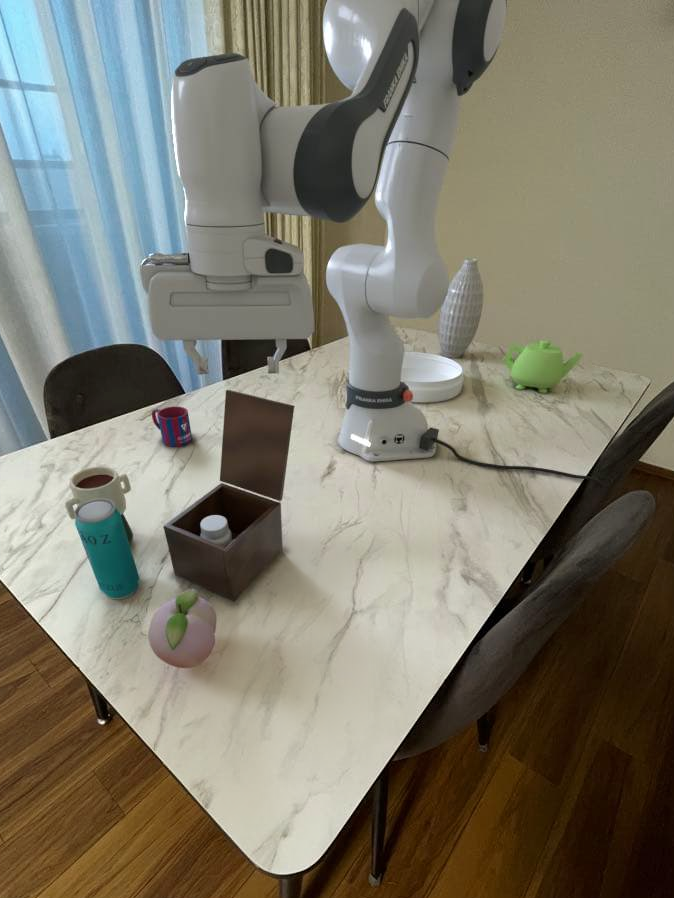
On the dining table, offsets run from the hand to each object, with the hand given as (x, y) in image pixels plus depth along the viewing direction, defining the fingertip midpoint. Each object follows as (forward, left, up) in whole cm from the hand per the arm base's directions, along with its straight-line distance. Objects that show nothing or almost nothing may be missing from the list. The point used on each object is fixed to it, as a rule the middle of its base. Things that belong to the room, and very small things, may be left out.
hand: (238, 372), depth 63 cm
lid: (-1, -1, -12) cm, 12 cm away
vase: (-56, -102, -29) cm, 120 cm away
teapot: (-74, -75, -29) cm, 109 cm away
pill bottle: (+4, +8, -28) cm, 30 cm away
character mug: (+23, +2, -29) cm, 37 cm away
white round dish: (-39, -74, -29) cm, 89 cm away
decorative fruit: (+5, +25, -29) cm, 39 cm away
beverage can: (+18, +13, -29) cm, 37 cm away
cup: (+23, -37, -29) cm, 53 cm away
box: (+3, +6, -29) cm, 30 cm away
